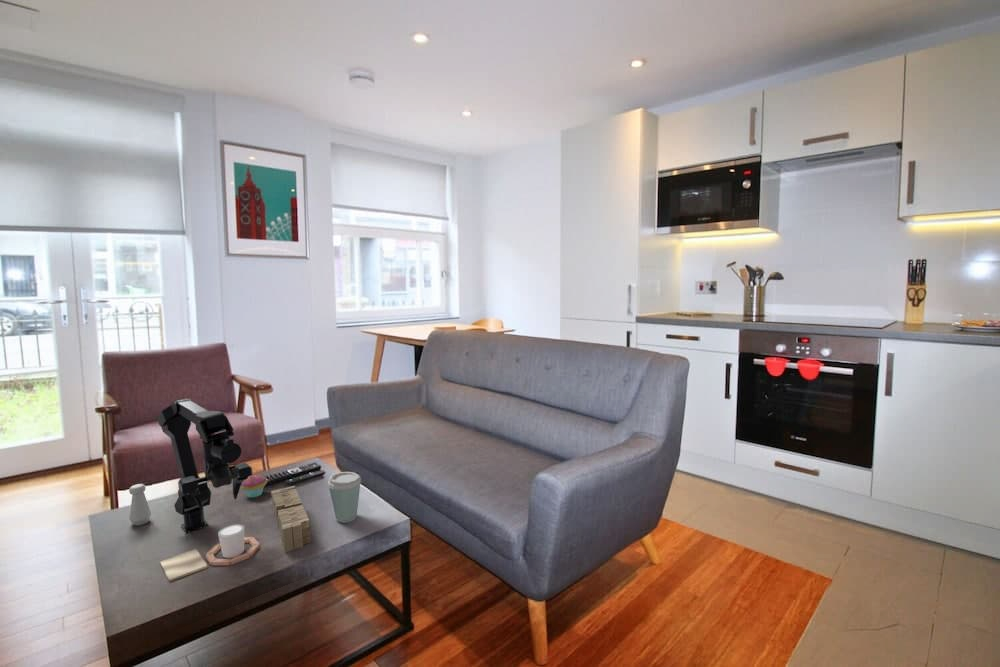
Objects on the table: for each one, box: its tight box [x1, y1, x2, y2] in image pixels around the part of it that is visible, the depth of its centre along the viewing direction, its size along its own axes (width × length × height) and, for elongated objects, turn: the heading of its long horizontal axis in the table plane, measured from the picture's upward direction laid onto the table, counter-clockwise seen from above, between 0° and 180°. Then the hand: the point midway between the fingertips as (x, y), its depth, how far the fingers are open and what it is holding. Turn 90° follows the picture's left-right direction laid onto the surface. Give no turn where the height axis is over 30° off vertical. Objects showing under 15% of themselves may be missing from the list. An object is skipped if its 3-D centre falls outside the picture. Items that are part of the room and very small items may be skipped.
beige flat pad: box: [159, 548, 208, 583], centre depth 138 cm, size 12×9×1 cm
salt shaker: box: [128, 483, 152, 527], centre depth 162 cm, size 6×6×13 cm
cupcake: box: [240, 474, 268, 499], centre depth 182 cm, size 9×8×12 cm
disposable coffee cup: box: [327, 471, 362, 524], centre depth 162 cm, size 11×11×15 cm
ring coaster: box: [205, 536, 260, 566], centre depth 144 cm, size 13×13×1 cm
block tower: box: [271, 485, 312, 553], centre depth 158 cm, size 8×8×29 cm
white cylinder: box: [217, 524, 246, 559], centre depth 144 cm, size 7×7×7 cm
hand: (218, 503), depth 149 cm, fingers open, 9 cm apart
